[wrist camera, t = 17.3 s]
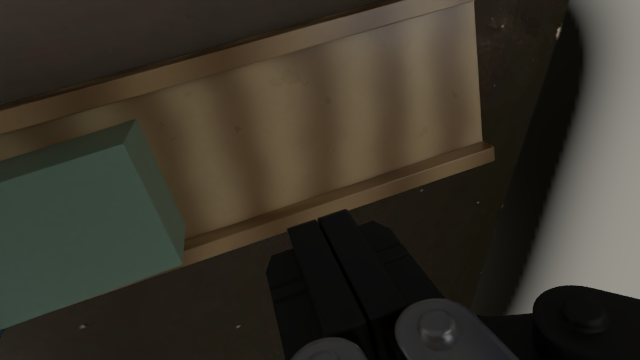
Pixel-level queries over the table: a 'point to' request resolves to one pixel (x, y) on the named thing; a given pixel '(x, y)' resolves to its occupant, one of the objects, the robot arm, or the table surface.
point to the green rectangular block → (83, 221)
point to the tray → (288, 118)
